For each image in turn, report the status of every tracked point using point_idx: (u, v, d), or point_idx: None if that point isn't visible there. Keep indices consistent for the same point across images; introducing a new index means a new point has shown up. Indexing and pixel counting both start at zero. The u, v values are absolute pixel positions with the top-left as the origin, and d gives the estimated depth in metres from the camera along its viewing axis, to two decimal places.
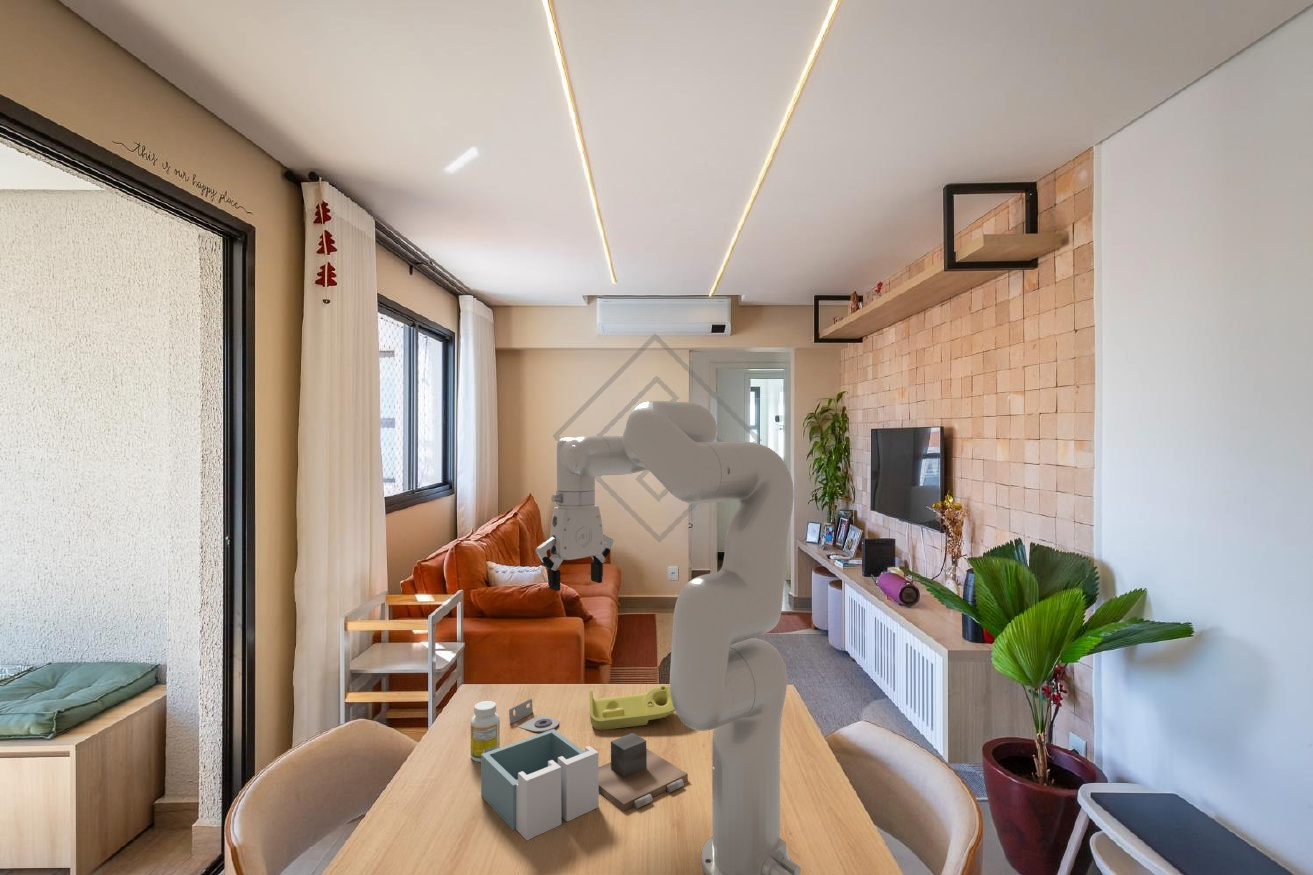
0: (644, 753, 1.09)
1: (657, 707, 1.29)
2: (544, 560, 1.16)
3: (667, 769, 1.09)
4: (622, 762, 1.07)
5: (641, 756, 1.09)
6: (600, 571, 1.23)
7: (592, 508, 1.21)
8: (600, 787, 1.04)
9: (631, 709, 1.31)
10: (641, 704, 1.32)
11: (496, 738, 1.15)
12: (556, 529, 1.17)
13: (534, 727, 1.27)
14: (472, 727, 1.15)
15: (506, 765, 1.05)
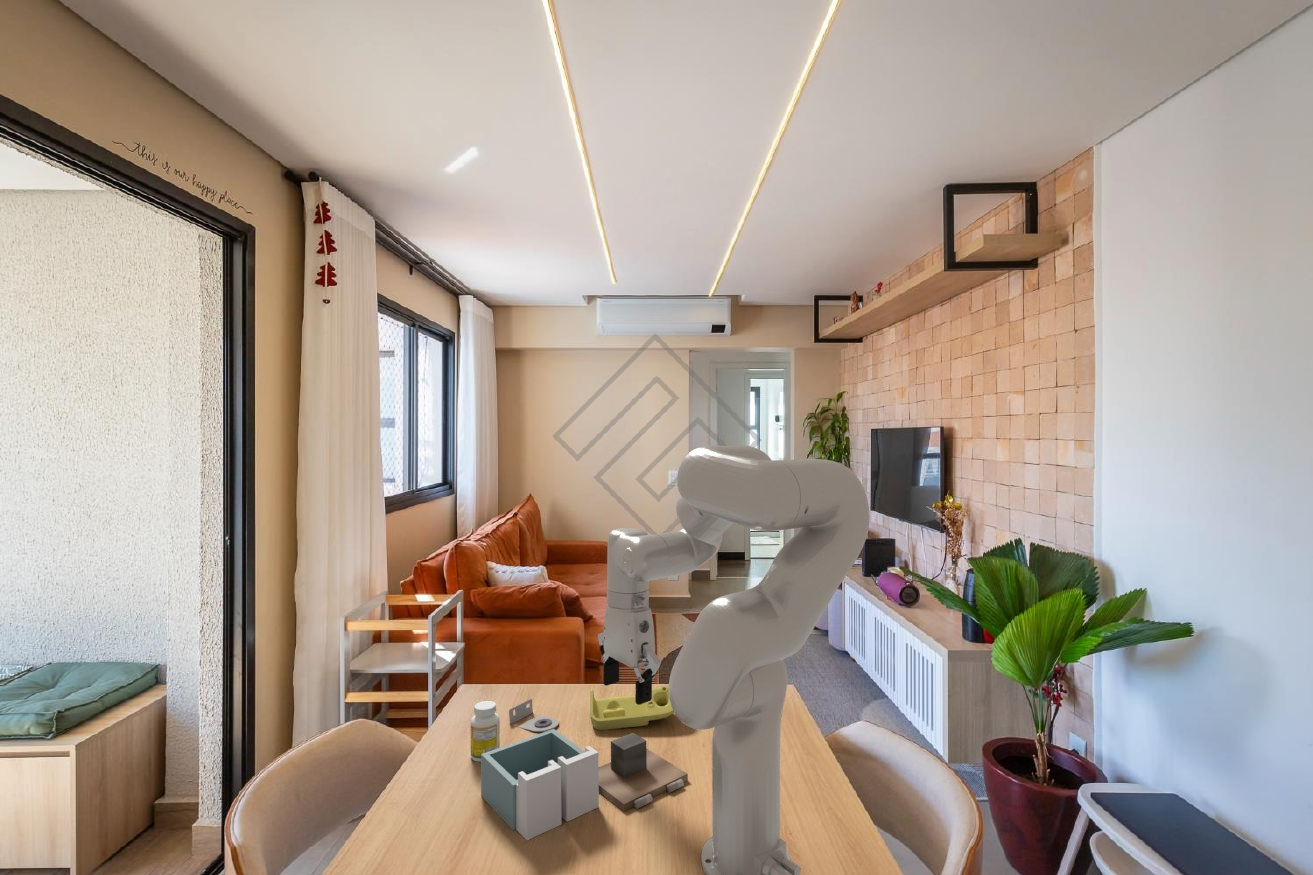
0: (644, 753, 1.09)
1: (657, 708, 1.29)
2: (656, 671, 1.05)
3: (667, 769, 1.09)
4: (622, 762, 1.07)
5: (641, 756, 1.09)
6: None
7: None
8: (600, 787, 1.04)
9: (631, 709, 1.31)
10: (642, 704, 1.32)
11: (496, 738, 1.15)
12: (648, 634, 1.06)
13: (534, 727, 1.27)
14: (472, 727, 1.15)
15: (506, 765, 1.05)
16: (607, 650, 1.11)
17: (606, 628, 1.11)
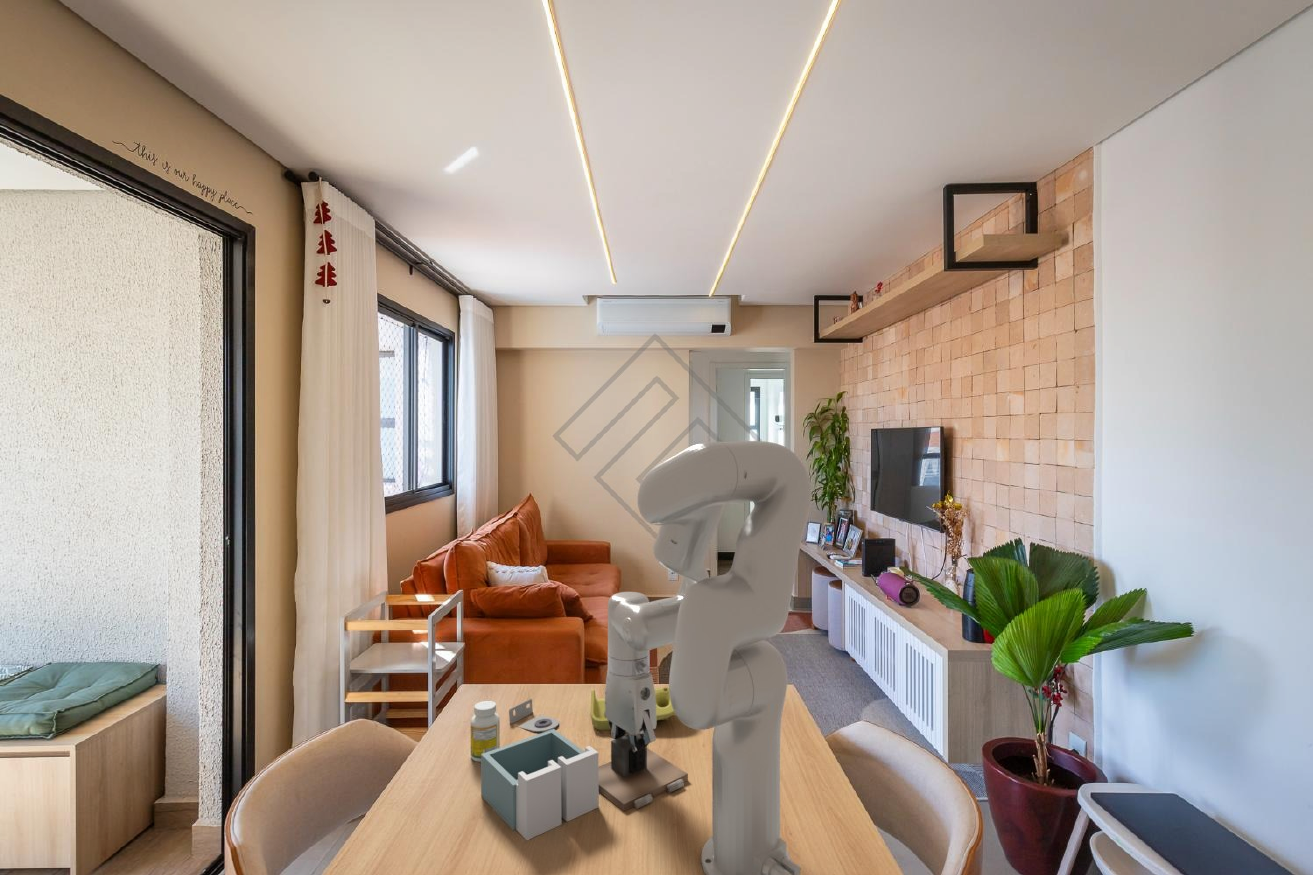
0: None
1: (658, 708, 1.29)
2: None
3: (667, 769, 1.09)
4: (623, 761, 1.07)
5: None
6: None
7: None
8: (600, 787, 1.04)
9: None
10: None
11: (496, 738, 1.15)
12: (649, 700, 1.06)
13: (534, 727, 1.27)
14: (472, 727, 1.15)
15: (506, 765, 1.05)
16: (609, 715, 1.11)
17: (607, 693, 1.11)
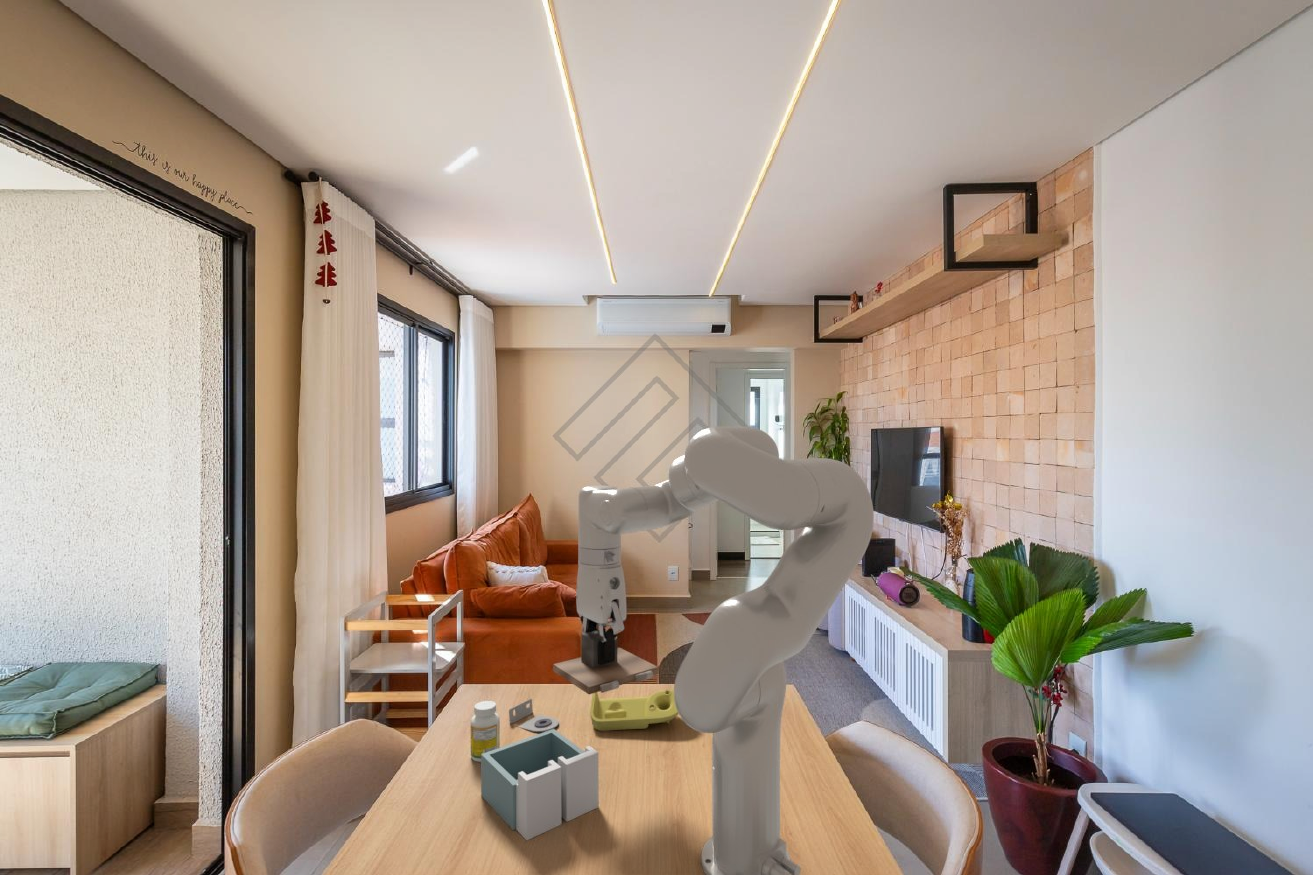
0: None
1: (658, 711, 1.27)
2: (618, 632, 1.05)
3: (638, 663, 1.08)
4: (592, 652, 1.05)
5: None
6: None
7: None
8: (568, 675, 1.03)
9: (633, 711, 1.30)
10: (644, 707, 1.30)
11: (496, 738, 1.15)
12: (619, 591, 1.05)
13: (534, 727, 1.27)
14: (472, 727, 1.15)
15: (506, 765, 1.05)
16: (579, 609, 1.09)
17: (578, 587, 1.09)
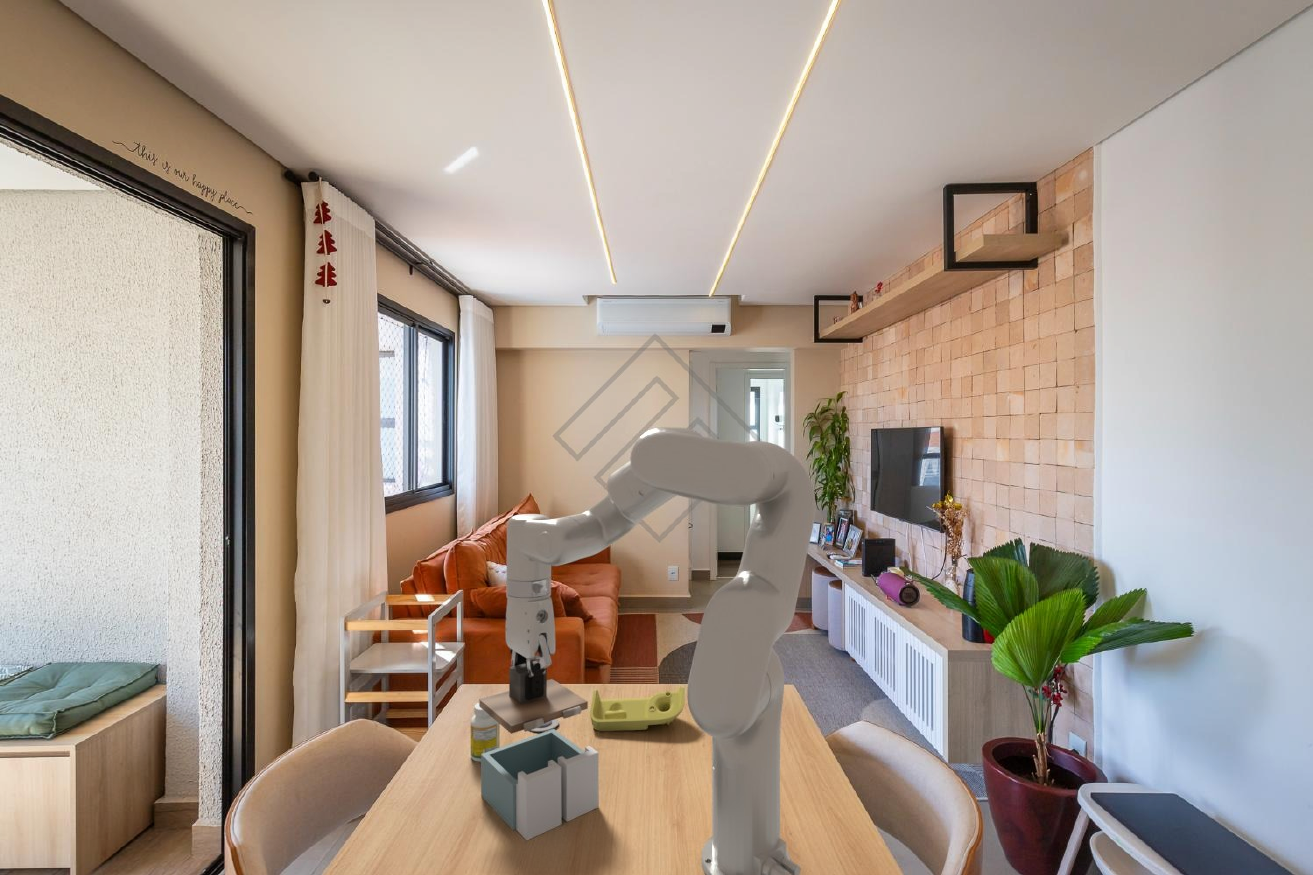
0: None
1: (658, 713, 1.27)
2: (546, 666, 1.02)
3: (568, 697, 1.05)
4: (519, 687, 1.02)
5: None
6: None
7: None
8: (492, 711, 0.99)
9: (633, 712, 1.29)
10: (644, 708, 1.30)
11: (496, 738, 1.15)
12: (547, 624, 1.02)
13: None
14: (472, 727, 1.15)
15: (506, 765, 1.05)
16: (508, 642, 1.06)
17: (507, 619, 1.06)
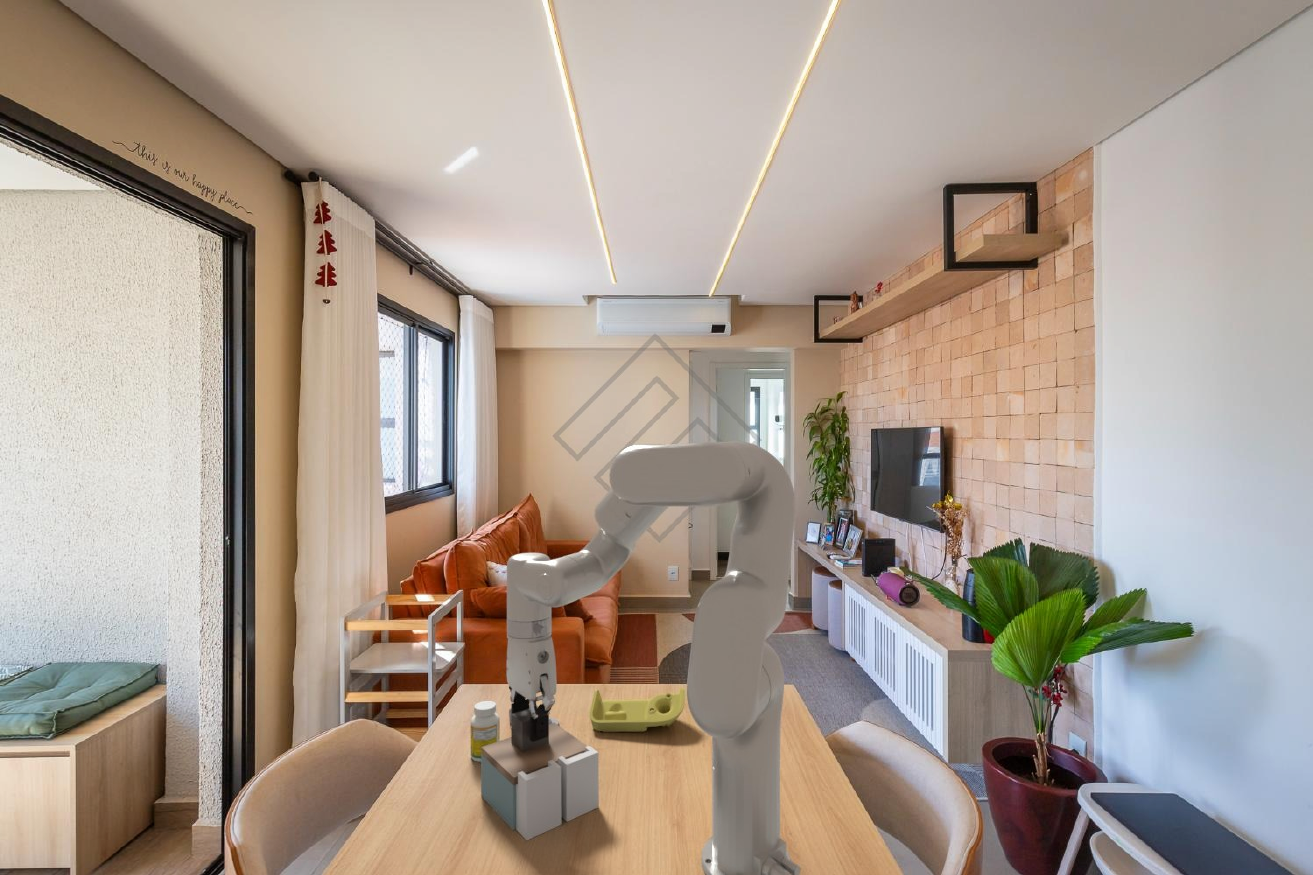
0: None
1: (657, 714, 1.26)
2: (550, 707, 1.01)
3: (570, 743, 1.04)
4: (521, 735, 1.02)
5: None
6: (528, 708, 1.08)
7: None
8: (495, 761, 0.99)
9: (633, 713, 1.28)
10: (644, 710, 1.29)
11: (496, 738, 1.15)
12: (548, 664, 1.01)
13: None
14: (472, 727, 1.15)
15: None
16: (509, 681, 1.06)
17: (508, 658, 1.06)
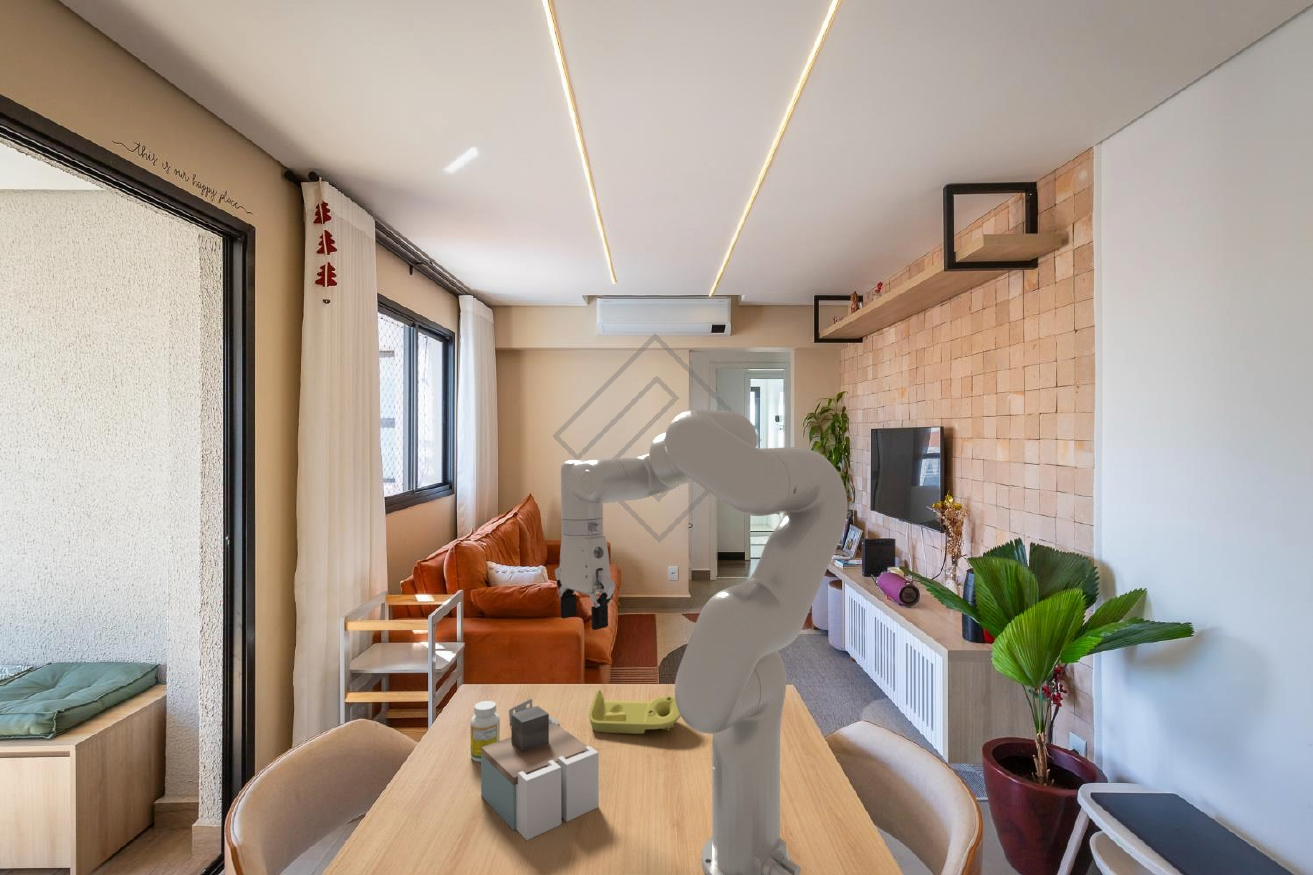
0: (545, 727, 1.04)
1: (656, 717, 1.25)
2: (611, 595, 1.06)
3: (570, 743, 1.04)
4: (521, 735, 1.02)
5: (542, 730, 1.04)
6: (575, 602, 1.15)
7: None
8: (495, 761, 0.99)
9: (633, 715, 1.28)
10: (644, 712, 1.28)
11: (496, 738, 1.15)
12: (603, 560, 1.08)
13: None
14: (472, 727, 1.15)
15: None
16: (563, 581, 1.12)
17: (562, 559, 1.12)
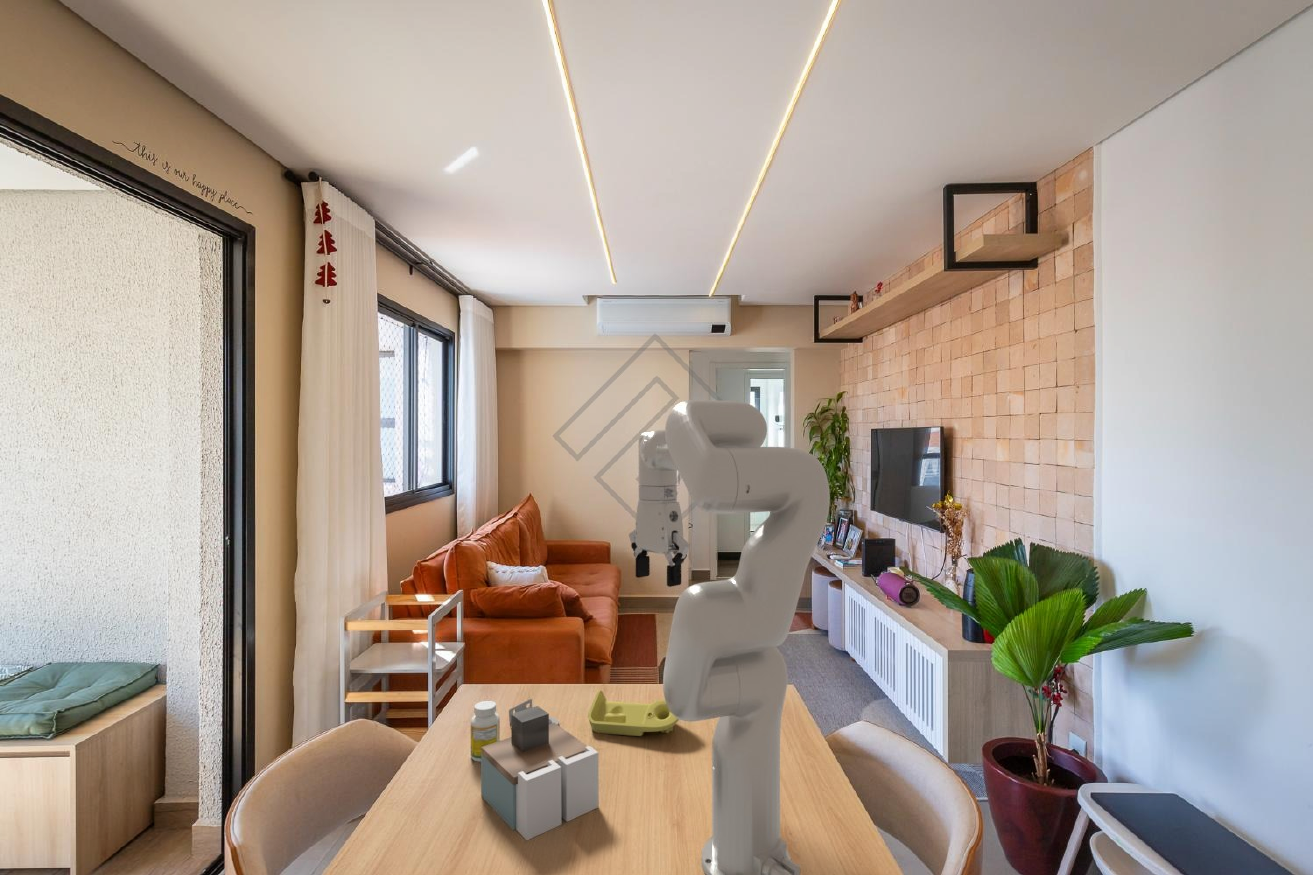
0: (545, 727, 1.04)
1: (655, 720, 1.23)
2: (686, 555, 1.15)
3: (570, 743, 1.04)
4: (521, 735, 1.02)
5: (542, 730, 1.04)
6: None
7: None
8: (495, 761, 0.99)
9: (632, 717, 1.27)
10: (644, 714, 1.27)
11: (496, 738, 1.15)
12: (677, 523, 1.17)
13: None
14: (472, 727, 1.15)
15: None
16: (639, 543, 1.21)
17: (638, 523, 1.21)
